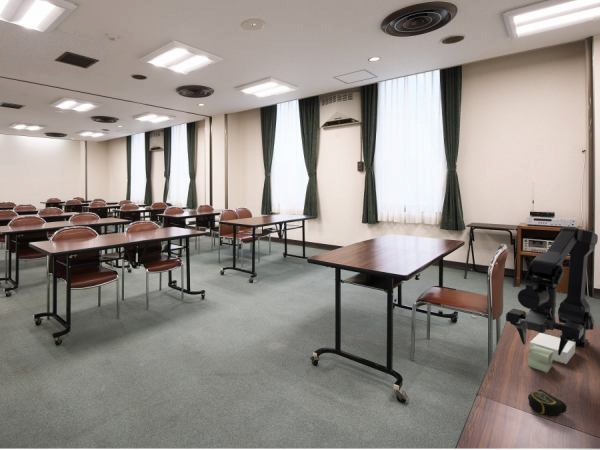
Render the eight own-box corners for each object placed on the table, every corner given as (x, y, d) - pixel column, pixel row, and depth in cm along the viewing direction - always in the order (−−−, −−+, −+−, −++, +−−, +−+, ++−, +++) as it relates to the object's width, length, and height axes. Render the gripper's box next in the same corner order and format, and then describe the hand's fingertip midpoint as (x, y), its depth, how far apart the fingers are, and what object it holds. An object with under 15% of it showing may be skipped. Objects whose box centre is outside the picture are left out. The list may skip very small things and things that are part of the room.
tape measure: (567, 416, 85) (569, 402, 84) (547, 423, 83) (548, 408, 82) (541, 399, 91) (541, 386, 91) (521, 405, 89) (522, 392, 89)
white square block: (539, 343, 121) (539, 332, 121) (574, 353, 114) (575, 342, 113) (529, 353, 115) (529, 342, 114) (566, 365, 107) (567, 352, 107)
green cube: (533, 360, 110) (534, 345, 110) (552, 366, 106) (553, 351, 106) (527, 366, 107) (528, 351, 106) (547, 372, 103) (548, 357, 103)
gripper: (499, 299, 106) (497, 347, 108) (575, 316, 92) (571, 371, 94) (513, 291, 113) (511, 336, 115) (586, 305, 99) (582, 357, 101)
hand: (541, 349), depth 106 cm, fingers open, 9 cm apart
